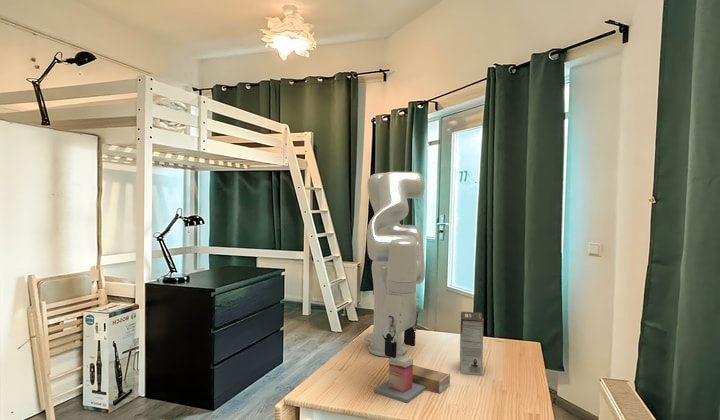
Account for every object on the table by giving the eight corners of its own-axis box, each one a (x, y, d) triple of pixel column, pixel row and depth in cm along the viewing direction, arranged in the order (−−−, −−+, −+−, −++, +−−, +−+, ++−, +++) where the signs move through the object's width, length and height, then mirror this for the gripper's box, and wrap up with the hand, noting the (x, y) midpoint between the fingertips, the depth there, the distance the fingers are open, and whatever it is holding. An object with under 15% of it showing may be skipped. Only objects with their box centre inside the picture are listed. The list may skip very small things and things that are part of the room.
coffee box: (459, 362, 135) (460, 310, 135) (480, 364, 134) (481, 312, 133) (460, 373, 126) (461, 318, 126) (483, 375, 125) (484, 320, 124)
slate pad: (373, 392, 113) (373, 389, 113) (393, 379, 121) (393, 377, 121) (407, 403, 107) (407, 399, 107) (426, 389, 115) (426, 386, 115)
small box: (387, 387, 114) (388, 357, 114) (396, 382, 117) (397, 353, 117) (404, 393, 111) (404, 362, 111) (412, 387, 114) (413, 357, 114)
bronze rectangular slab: (399, 381, 120) (400, 370, 120) (410, 374, 125) (410, 364, 125) (440, 393, 113) (440, 381, 113) (449, 385, 118) (450, 374, 118)
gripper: (405, 278, 123) (404, 338, 124) (371, 290, 109) (369, 357, 110) (429, 282, 119) (428, 344, 120) (397, 295, 105) (395, 365, 106)
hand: (400, 350), depth 115 cm, fingers open, 9 cm apart
